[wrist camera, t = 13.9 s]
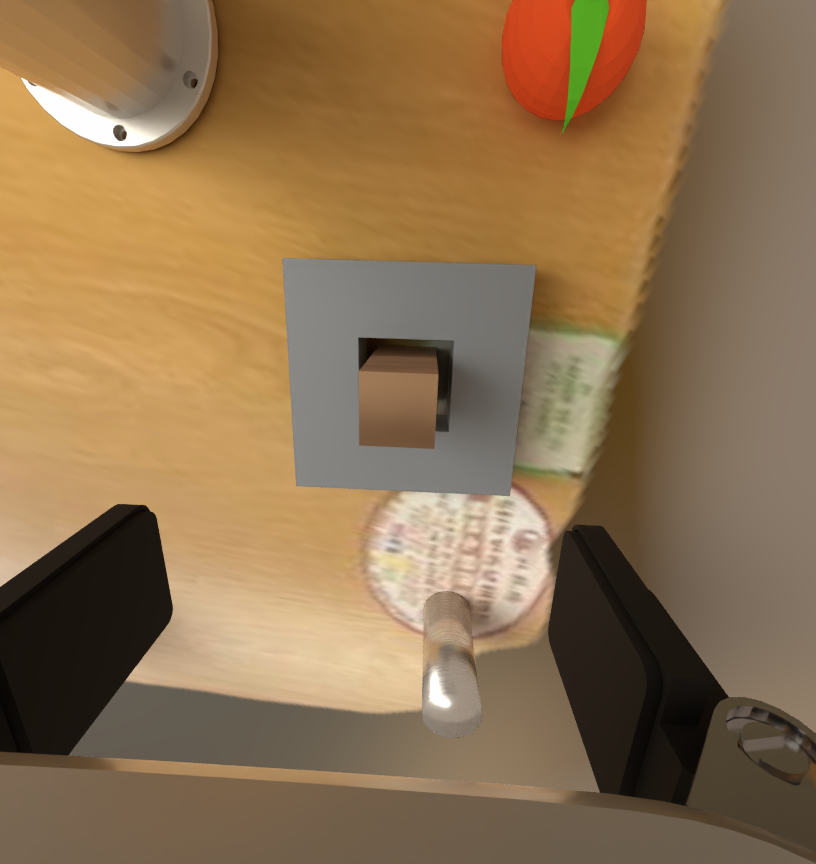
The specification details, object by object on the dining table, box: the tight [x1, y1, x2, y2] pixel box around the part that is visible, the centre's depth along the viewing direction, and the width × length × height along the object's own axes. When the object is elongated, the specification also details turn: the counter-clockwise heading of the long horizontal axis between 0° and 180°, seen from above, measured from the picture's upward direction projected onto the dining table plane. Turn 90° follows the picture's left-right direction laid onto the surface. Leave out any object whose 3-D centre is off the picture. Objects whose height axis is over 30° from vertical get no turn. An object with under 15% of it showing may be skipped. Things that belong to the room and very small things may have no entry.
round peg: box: [422, 591, 482, 738], centre depth 34 cm, size 4×4×10 cm
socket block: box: [282, 258, 536, 496], centre depth 30 cm, size 15×15×4 cm
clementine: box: [502, 0, 646, 133], centre depth 23 cm, size 8×7×7 cm
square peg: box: [359, 345, 438, 449], centre depth 27 cm, size 4×4×10 cm
